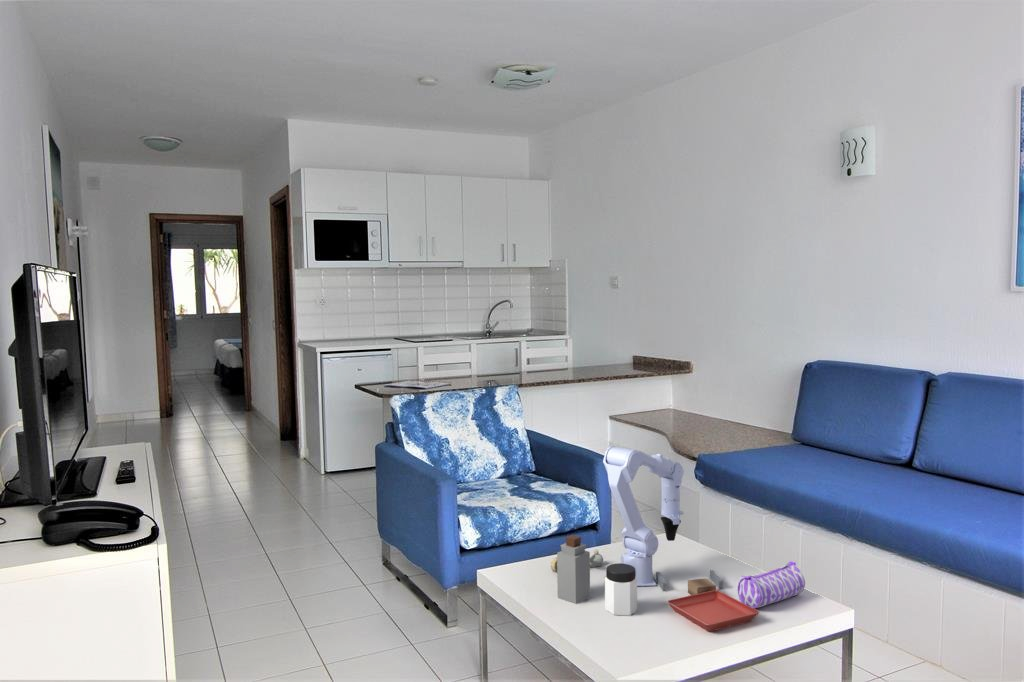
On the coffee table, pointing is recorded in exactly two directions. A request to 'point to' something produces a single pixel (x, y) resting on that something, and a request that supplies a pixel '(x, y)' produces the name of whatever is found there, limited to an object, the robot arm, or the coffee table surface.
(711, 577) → the lane
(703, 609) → the plant saucer
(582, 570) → the perfume bottle
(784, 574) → the pencil case
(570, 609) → the coffee table surface
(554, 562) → the toy dog
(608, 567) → the jar
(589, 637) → the coffee table surface
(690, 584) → the walnut block
